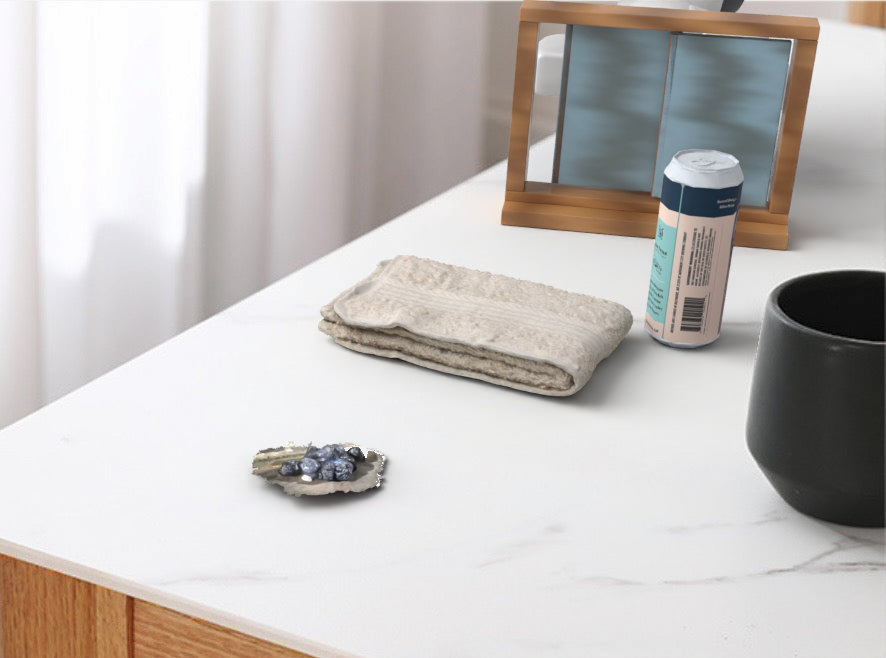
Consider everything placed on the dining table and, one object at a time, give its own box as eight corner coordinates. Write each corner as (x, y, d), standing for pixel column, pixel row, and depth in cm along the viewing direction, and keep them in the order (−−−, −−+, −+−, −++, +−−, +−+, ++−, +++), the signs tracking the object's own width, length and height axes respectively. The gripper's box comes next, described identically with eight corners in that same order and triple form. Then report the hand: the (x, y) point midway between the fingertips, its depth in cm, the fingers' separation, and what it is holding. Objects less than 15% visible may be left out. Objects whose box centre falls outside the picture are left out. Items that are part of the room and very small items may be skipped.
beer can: (733, 337, 102) (761, 160, 96) (691, 359, 99) (718, 177, 93) (670, 315, 105) (694, 141, 99) (628, 335, 102) (650, 157, 96)
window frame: (781, 217, 121) (815, 10, 114) (786, 250, 115) (822, 33, 108) (509, 194, 125) (526, -8, 118) (500, 224, 119) (517, 14, 112)
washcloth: (386, 282, 109) (388, 240, 108) (637, 336, 102) (643, 292, 100) (307, 345, 100) (308, 300, 98) (577, 409, 92) (583, 362, 91)
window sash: (663, 171, 124) (683, 14, 118) (662, 193, 119) (683, 30, 114) (555, 162, 125) (570, 7, 120) (551, 183, 121) (566, 23, 115)
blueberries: (226, 472, 85) (226, 441, 84) (333, 427, 90) (334, 398, 89) (310, 521, 81) (311, 490, 80) (418, 471, 85) (420, 441, 85)
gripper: (537, 8, 132) (521, 49, 120) (788, 25, 128) (797, 68, 116) (530, 82, 135) (514, 128, 123) (776, 100, 131) (784, 150, 119)
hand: (654, 99), depth 120 cm, fingers closed on window sash, 2 cm apart
